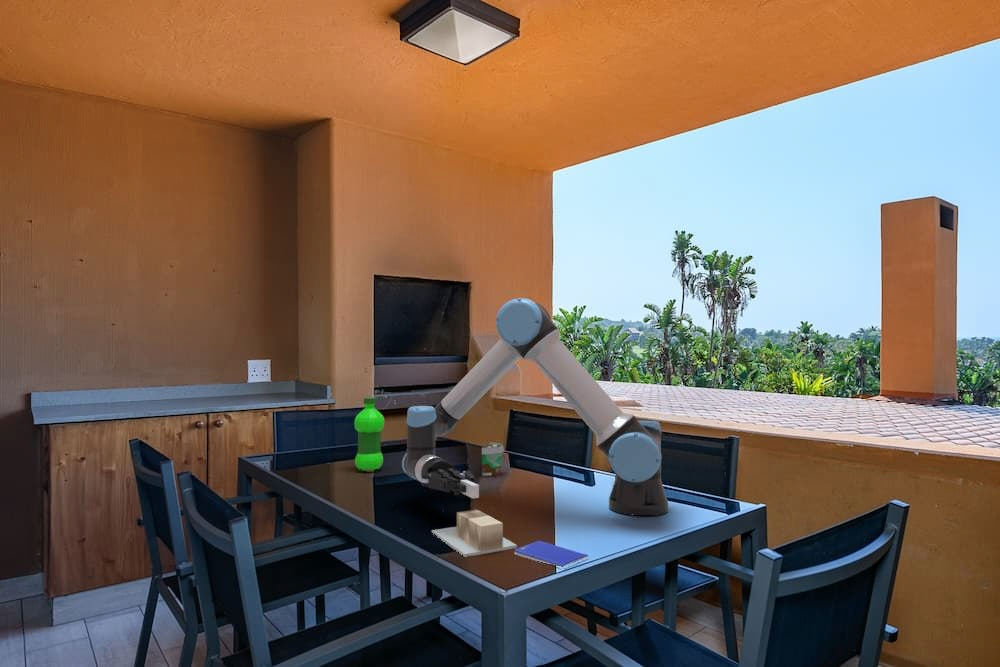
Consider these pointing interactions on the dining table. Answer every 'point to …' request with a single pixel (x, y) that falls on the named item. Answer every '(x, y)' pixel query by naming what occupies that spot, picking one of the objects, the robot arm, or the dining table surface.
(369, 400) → the plastic bottle
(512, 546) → the rubber mat
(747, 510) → the dining table surface
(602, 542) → the dining table surface
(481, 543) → the birch block
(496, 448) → the food container
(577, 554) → the hard drive
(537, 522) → the dining table surface
